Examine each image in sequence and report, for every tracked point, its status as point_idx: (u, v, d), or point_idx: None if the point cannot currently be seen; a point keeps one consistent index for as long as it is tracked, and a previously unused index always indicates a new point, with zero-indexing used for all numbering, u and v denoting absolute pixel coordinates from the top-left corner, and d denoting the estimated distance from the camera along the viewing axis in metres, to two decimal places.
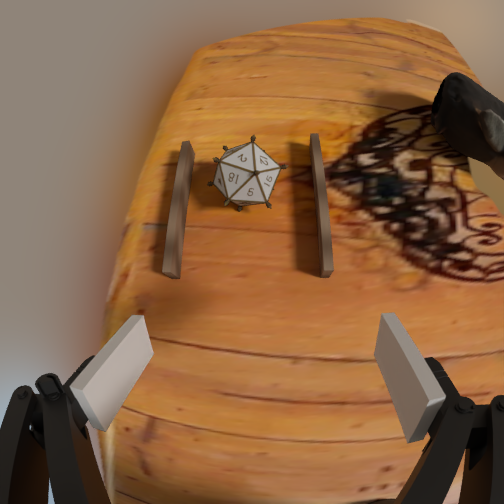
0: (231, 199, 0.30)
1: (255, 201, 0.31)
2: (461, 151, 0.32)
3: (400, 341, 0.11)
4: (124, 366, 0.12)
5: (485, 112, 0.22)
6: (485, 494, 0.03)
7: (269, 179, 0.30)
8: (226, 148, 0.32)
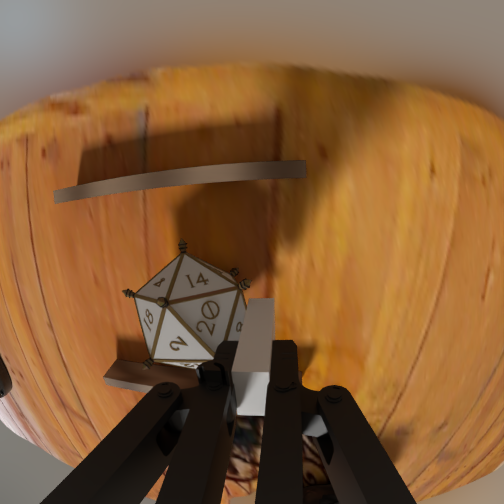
0: None
1: None
2: None
3: (260, 321, 0.14)
4: None
5: None
6: (355, 490, 0.05)
7: None
8: (242, 287, 0.16)
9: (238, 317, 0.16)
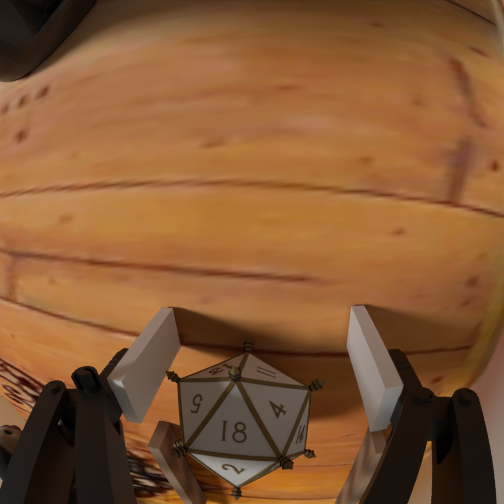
0: (229, 380, 0.11)
1: (192, 381, 0.13)
2: None
3: (365, 332, 0.12)
4: (157, 358, 0.13)
5: None
6: (457, 489, 0.04)
7: None
8: (305, 454, 0.13)
9: None
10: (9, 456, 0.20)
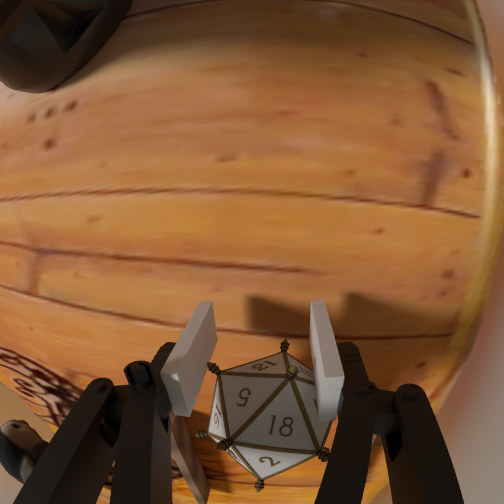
0: (283, 377, 0.12)
1: (237, 374, 0.14)
2: None
3: (318, 324, 0.13)
4: (201, 350, 0.14)
5: None
6: (415, 486, 0.05)
7: (216, 418, 0.13)
8: None
9: None
10: (17, 449, 0.23)
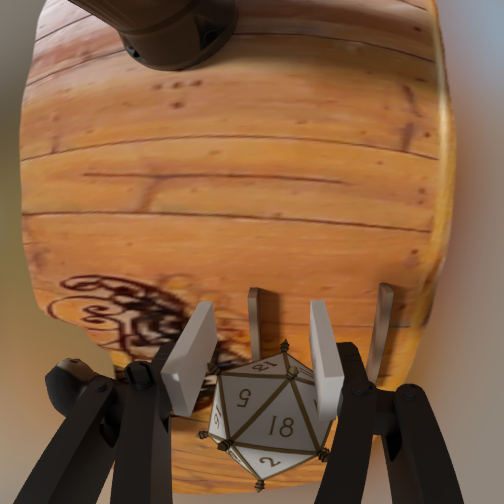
0: (283, 378, 0.12)
1: (237, 375, 0.14)
2: (121, 384, 0.42)
3: (318, 324, 0.13)
4: (202, 350, 0.14)
5: None
6: (415, 486, 0.05)
7: (216, 419, 0.13)
8: None
9: None
10: (76, 380, 0.37)
